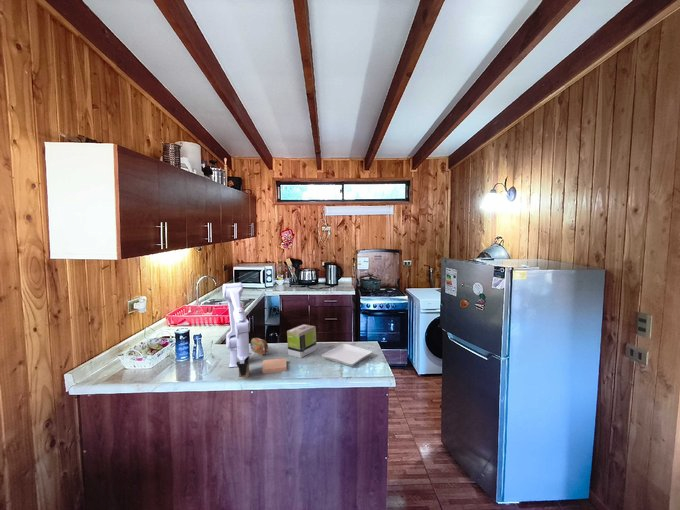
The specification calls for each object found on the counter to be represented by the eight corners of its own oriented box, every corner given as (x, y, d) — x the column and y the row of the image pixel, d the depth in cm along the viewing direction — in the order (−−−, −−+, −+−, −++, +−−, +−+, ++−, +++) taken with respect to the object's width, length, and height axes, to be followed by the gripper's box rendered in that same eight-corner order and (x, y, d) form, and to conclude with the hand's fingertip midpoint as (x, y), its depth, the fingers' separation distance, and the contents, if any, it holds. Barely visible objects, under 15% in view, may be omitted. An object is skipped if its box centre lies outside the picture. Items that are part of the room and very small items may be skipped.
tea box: (304, 347, 200) (303, 323, 199) (317, 350, 194) (316, 326, 193) (287, 355, 187) (286, 330, 186) (300, 358, 182) (299, 333, 181)
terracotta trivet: (263, 364, 176) (263, 360, 176) (285, 362, 178) (285, 358, 178) (262, 374, 164) (262, 369, 164) (286, 371, 166) (286, 367, 166)
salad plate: (352, 370, 167) (352, 363, 167) (320, 360, 180) (320, 354, 180) (373, 356, 184) (373, 350, 184) (343, 348, 197) (343, 343, 196)
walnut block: (240, 373, 164) (239, 362, 164) (249, 372, 165) (248, 361, 164) (239, 377, 160) (238, 366, 159) (248, 376, 161) (248, 365, 160)
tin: (250, 350, 196) (249, 336, 195) (254, 349, 198) (254, 335, 197) (264, 356, 185) (264, 342, 185) (269, 355, 188) (268, 341, 187)
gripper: (250, 350, 155) (251, 377, 156) (252, 339, 169) (253, 365, 170) (234, 351, 153) (236, 379, 155) (238, 341, 168) (239, 366, 169)
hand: (244, 371), depth 162 cm, fingers open, 7 cm apart
